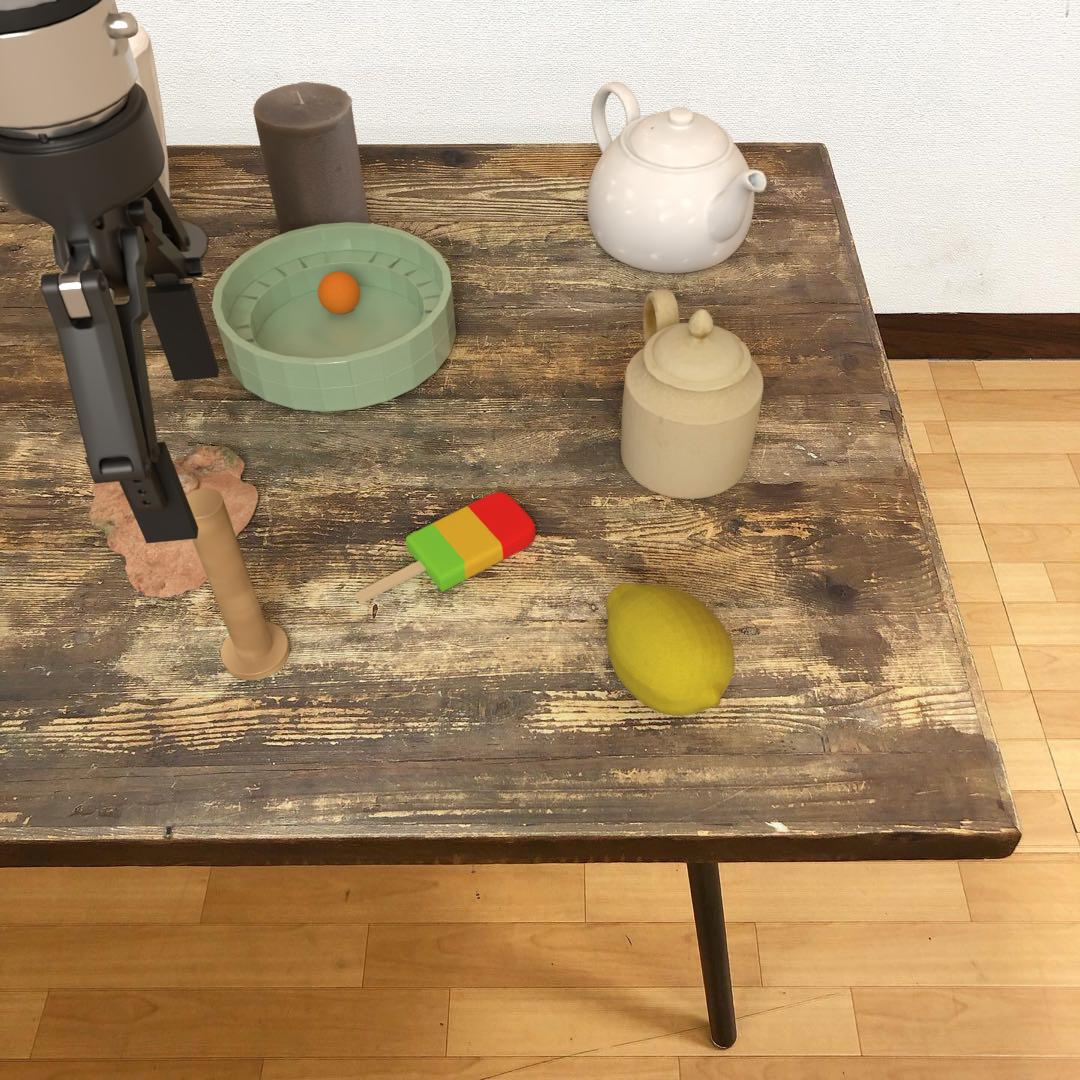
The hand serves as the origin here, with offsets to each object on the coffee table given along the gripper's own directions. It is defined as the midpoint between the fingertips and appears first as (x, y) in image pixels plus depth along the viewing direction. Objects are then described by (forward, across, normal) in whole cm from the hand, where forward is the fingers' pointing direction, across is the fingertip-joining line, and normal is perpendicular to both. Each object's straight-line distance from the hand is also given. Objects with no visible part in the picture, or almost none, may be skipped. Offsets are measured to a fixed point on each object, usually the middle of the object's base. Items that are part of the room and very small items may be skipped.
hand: (185, 450), depth 63 cm
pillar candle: (+21, +56, -4) cm, 60 cm away
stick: (+20, 0, 0) cm, 20 cm away
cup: (+20, +54, +14) cm, 60 cm away
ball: (+18, +40, -6) cm, 44 cm away
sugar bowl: (+21, +18, -34) cm, 43 cm away
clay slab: (+20, +15, +7) cm, 26 cm away
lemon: (+21, -6, -29) cm, 36 cm away
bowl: (+20, +36, -6) cm, 42 cm away
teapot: (+21, +50, -40) cm, 67 cm away
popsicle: (+21, +7, -14) cm, 26 cm away
